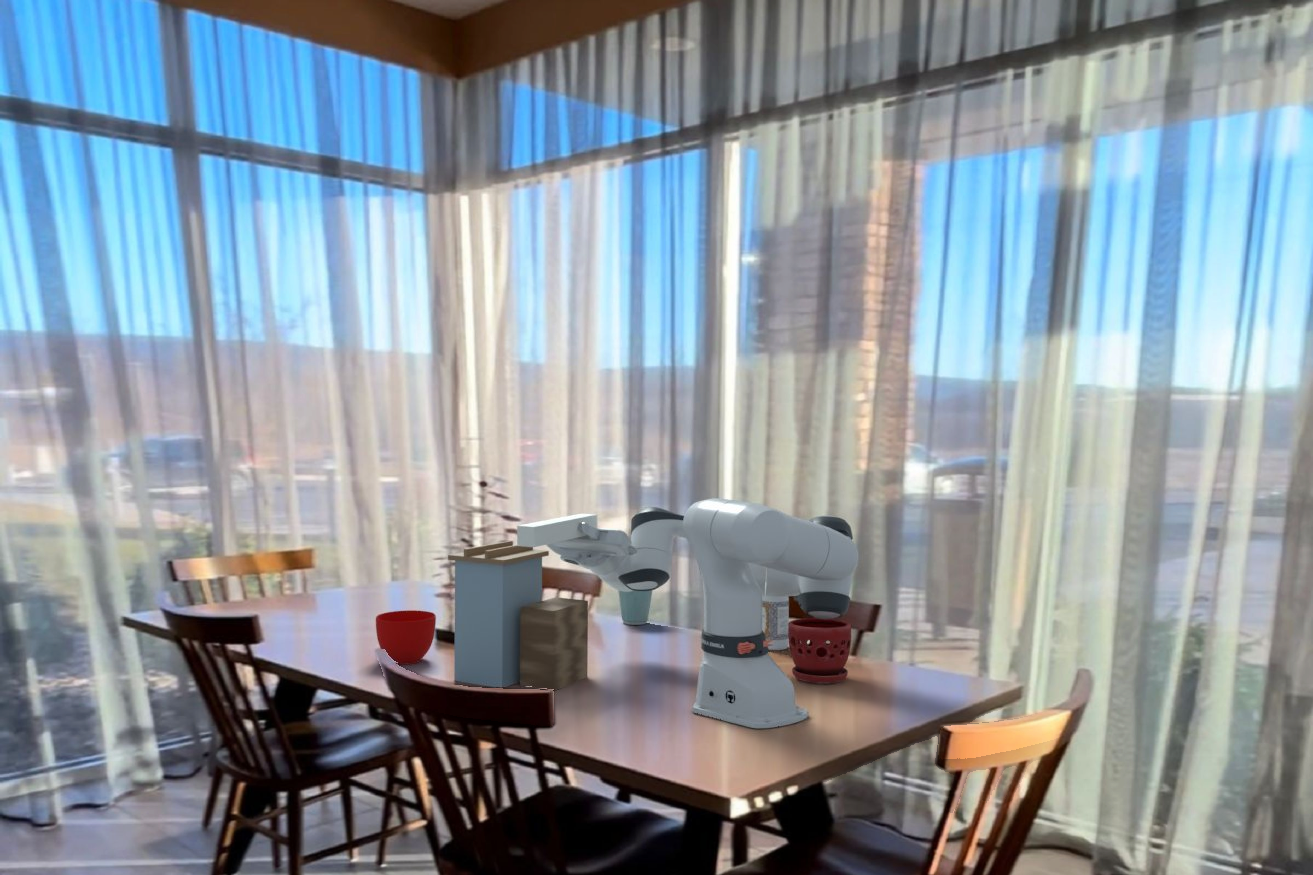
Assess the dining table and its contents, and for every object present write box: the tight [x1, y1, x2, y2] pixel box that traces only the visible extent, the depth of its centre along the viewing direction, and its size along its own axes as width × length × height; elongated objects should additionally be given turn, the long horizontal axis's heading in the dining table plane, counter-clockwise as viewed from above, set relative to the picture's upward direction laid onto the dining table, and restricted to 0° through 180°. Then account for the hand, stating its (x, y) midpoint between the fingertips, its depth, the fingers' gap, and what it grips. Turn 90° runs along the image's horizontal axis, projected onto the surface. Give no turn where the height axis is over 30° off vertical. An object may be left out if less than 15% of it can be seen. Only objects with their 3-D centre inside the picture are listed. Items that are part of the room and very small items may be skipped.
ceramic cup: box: [375, 609, 437, 665], centre depth 227 cm, size 13×17×10 cm
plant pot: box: [788, 617, 852, 685], centre depth 214 cm, size 13×13×12 cm
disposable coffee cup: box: [617, 590, 653, 626], centre depth 269 cm, size 11×11×15 cm
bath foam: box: [762, 582, 790, 651], centre depth 241 cm, size 7×7×20 cm
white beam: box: [516, 513, 598, 548], centre depth 210 cm, size 24×4×4 cm, turn 152°
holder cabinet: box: [447, 540, 550, 688], centre depth 212 cm, size 16×14×28 cm
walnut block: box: [519, 596, 589, 691], centre depth 209 cm, size 13×8×16 cm, turn 152°
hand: (570, 524), depth 214 cm, fingers closed on white beam, 4 cm apart
